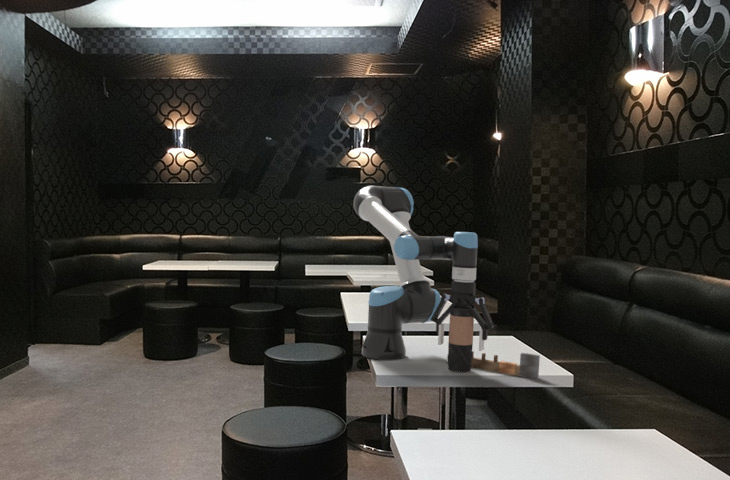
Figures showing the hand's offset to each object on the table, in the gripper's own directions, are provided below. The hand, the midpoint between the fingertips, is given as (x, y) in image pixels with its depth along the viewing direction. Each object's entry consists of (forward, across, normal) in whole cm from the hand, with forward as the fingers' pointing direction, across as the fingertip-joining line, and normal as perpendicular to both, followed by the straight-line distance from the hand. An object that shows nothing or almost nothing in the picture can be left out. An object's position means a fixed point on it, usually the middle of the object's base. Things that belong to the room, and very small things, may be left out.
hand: (460, 347), depth 191 cm
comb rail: (+7, +9, +6) cm, 13 cm away
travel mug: (+7, 0, 0) cm, 7 cm away
